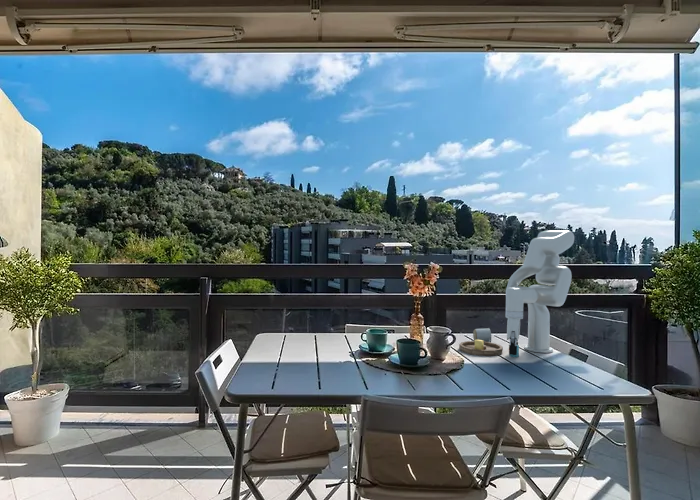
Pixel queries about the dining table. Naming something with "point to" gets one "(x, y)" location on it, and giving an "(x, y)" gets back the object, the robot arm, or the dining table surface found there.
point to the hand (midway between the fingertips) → (513, 352)
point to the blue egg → (517, 352)
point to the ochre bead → (479, 344)
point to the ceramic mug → (482, 334)
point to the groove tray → (489, 350)
